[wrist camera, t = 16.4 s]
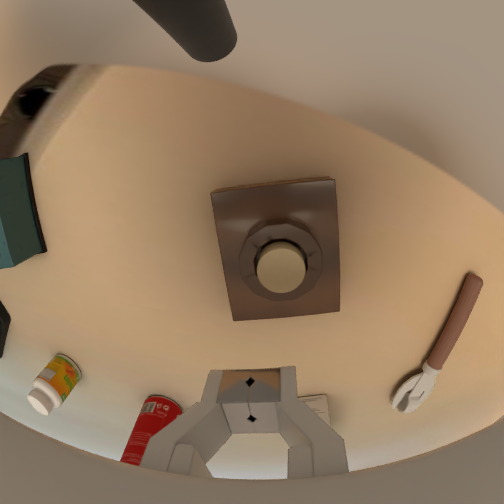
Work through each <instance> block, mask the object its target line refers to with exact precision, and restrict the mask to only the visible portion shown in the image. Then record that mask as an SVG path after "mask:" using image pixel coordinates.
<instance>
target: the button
mask: <svg viewBox="0 0 504 504" xmlns="http://www.w3.org/2000/svg"><path fill="white" fill-rule="evenodd" d="M305 272H306V269H305V263H304V259H303V256H302V253H301V252H300V250H299V249H298V248H297V247H296V246H294V245H293V244H291V243H288V242H283V241H279V242H274V243H271V244H269V245H268V246H266V247H265V248H264V249H263V250H262V252H261V253H260V255H259V259H258V264H257V276H258V279H259V281H260V283H261V284H262V285H263V286H264V287H265V288H267V289H268V290H270V291H272V292H276V293H286V292H290V291H292V290H294V289H295V288H297V287H298V286H299V285H300V284H301V283H302V281H303V279H304V277H305Z"/></svg>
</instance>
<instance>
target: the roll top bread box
mask: <svg viewBox="0 0 504 504" xmlns="http://www.w3.org/2000/svg"><path fill="white" fill-rule="evenodd" d="M10 320H11V319H10V316H9V314H8V312H7V311H6V309H5V308H4V306H3V305H2V303H1V302H0V358H1V357H2V354H3V349H4V345H5V340H6V336H7V332H8V328H9V324H10Z"/></svg>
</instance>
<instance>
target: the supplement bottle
mask: <svg viewBox="0 0 504 504" xmlns="http://www.w3.org/2000/svg"><path fill="white" fill-rule="evenodd" d="M80 378H81V373H80V370H79V369H78V367H77V366H76V364H75V363H74V362H73V361H72V360H71V359H70V358H68V357H67V356H64V355H61V354H59V355H56V356H55V357H54V358H53V359H52V360H51V361H50V363H49V364H48V365H47V366H46V367H45V368H44V369H43V371H42V372H41V373H40V374H39V375H38V376H37V377H36V379H35V380H34V382H33V388H34V390H32V391H31V392H30V393H29V394H28V396H27V398H28V400H29V402H30V403H31V405H32V406H33V407H34V408H35V409H36V410H37V411H39V412H40V413H41V414H43V415H46V416H47V415H49V413H50V412H51V411H52V407H55V408H57V407H60V406H61V405H62V403H63V402H64V400H65V399H66V398H67V396H68V395H69V394H70V392H71V391H72V389H73V388H74V387H75V385H76V384H77V383H78V381H79V380H80Z"/></svg>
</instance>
